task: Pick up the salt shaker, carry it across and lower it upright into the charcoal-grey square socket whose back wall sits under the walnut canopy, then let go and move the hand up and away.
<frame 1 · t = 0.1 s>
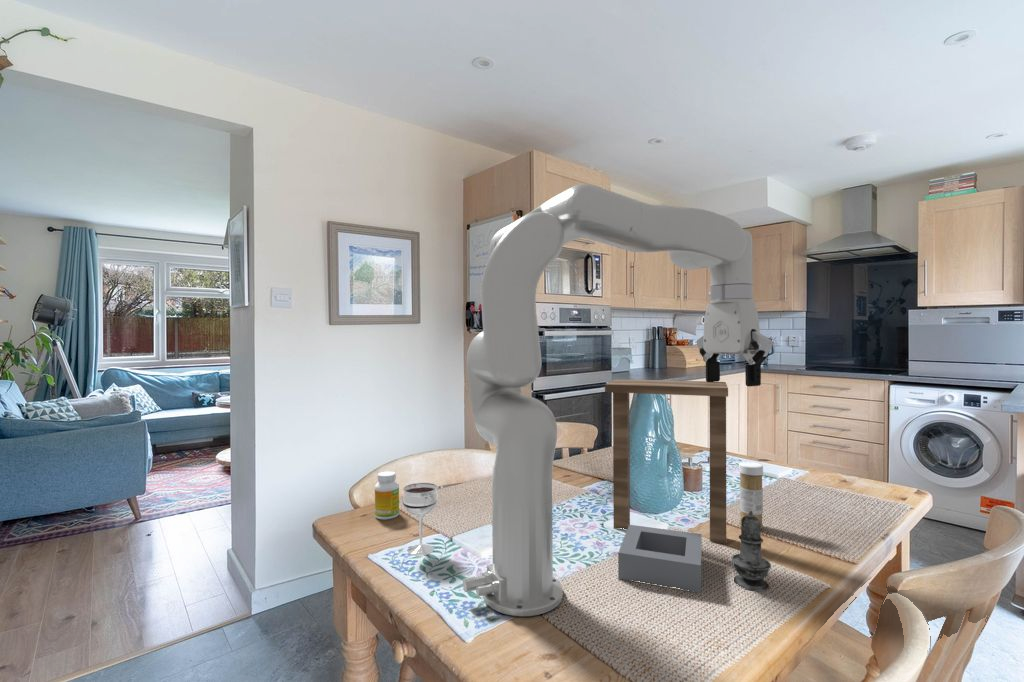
hand: (732, 383, 95), 32 cm above the table, tool pointing down, fingers open, 9 cm apart
sprinkles bottle: (751, 527, 104), on the table
supplement bottle: (387, 516, 112), on the table
wineglass: (421, 550, 94), on the table
salt shaker: (750, 584, 81), on the table
canopy: (666, 462, 97), on the table
socket block: (661, 568, 86), on the table
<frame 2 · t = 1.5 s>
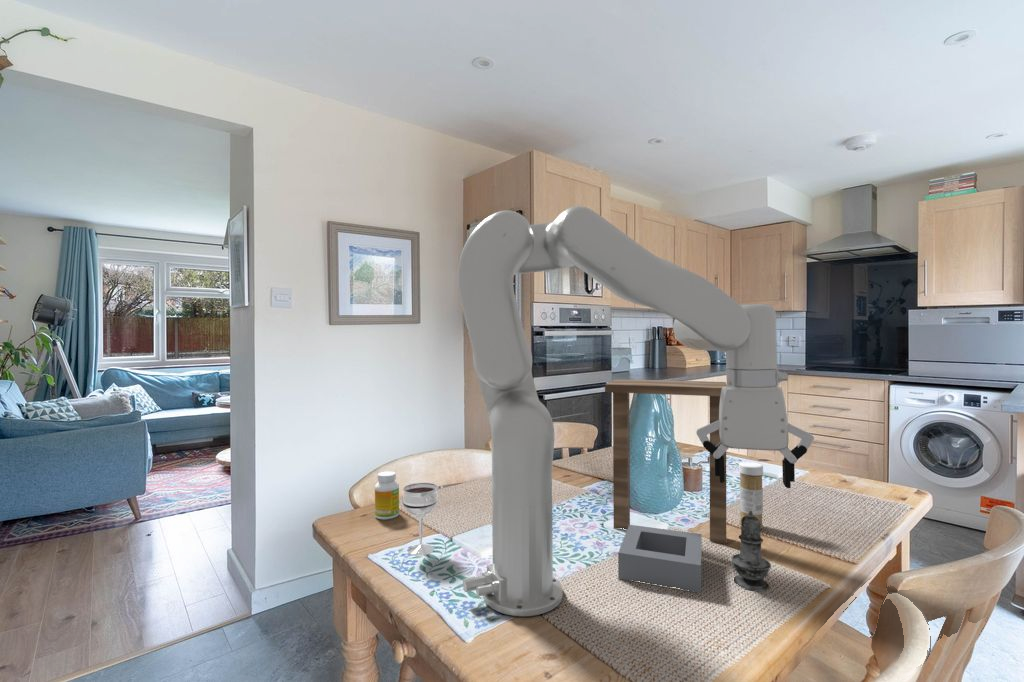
hand: (753, 483, 81), 17 cm above the table, tool pointing down, fingers open, 9 cm apart
nothing on the table moved.
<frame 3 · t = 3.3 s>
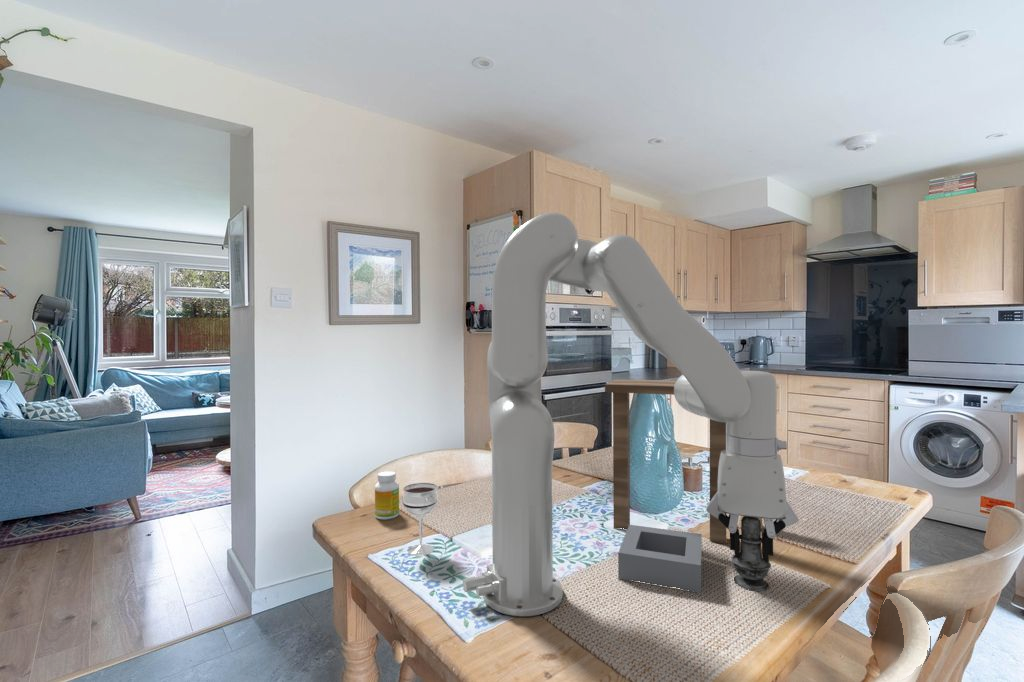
hand: (750, 555, 81), 5 cm above the table, tool pointing down, fingers closed on salt shaker, 3 cm apart
salt shaker: (750, 583, 81), on the table, touching gripper
everything else where it was.
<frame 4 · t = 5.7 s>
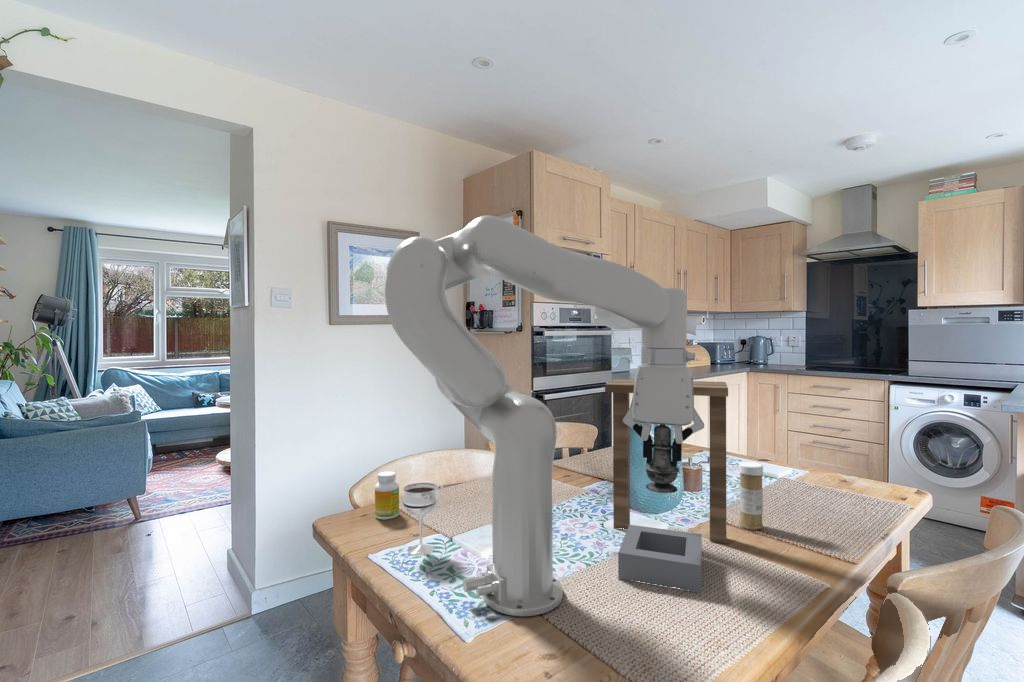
hand: (661, 462, 86), 19 cm above the table, tool pointing down, fingers closed on salt shaker, 3 cm apart
salt shaker: (661, 489, 86), point 14 cm above the table, touching gripper
everything else where it was.
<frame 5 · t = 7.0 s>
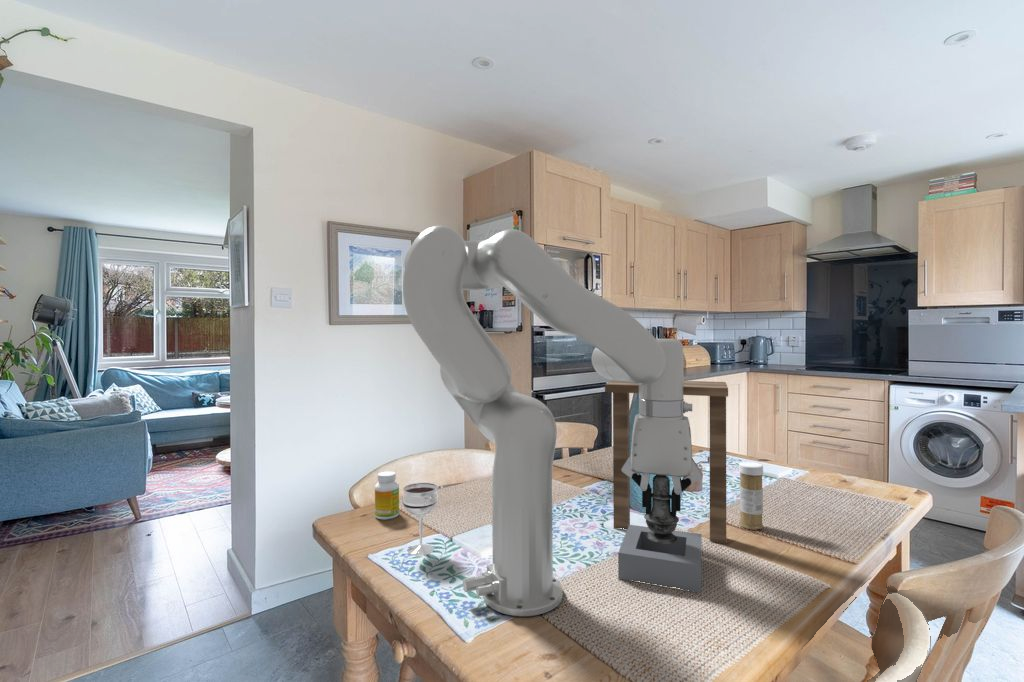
hand: (661, 512, 86), 10 cm above the table, tool pointing down, fingers closed on salt shaker, 3 cm apart
salt shaker: (661, 538, 86), point 5 cm above the table, touching gripper
everything else where it was.
when the fingers open (6 cm above the table, at t = 8.1 s): salt shaker drops 1 cm, resting in socket block.
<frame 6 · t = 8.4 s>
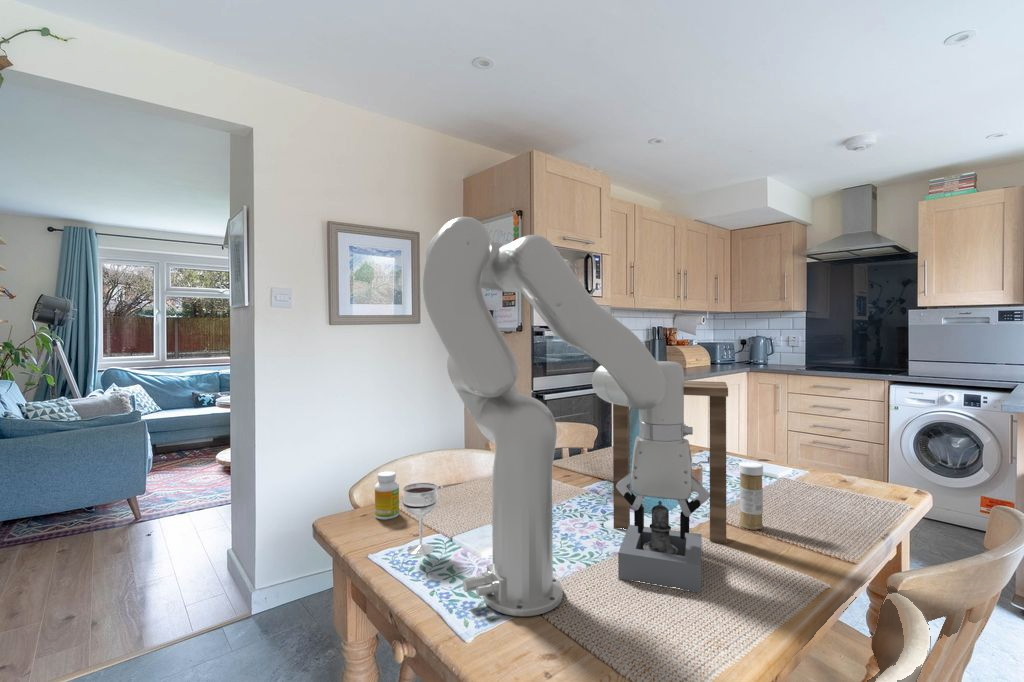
hand: (661, 532, 86), 6 cm above the table, tool pointing down, fingers open, 6 cm apart
salt shaker: (660, 569, 86), resting in socket block
everything else where it was.
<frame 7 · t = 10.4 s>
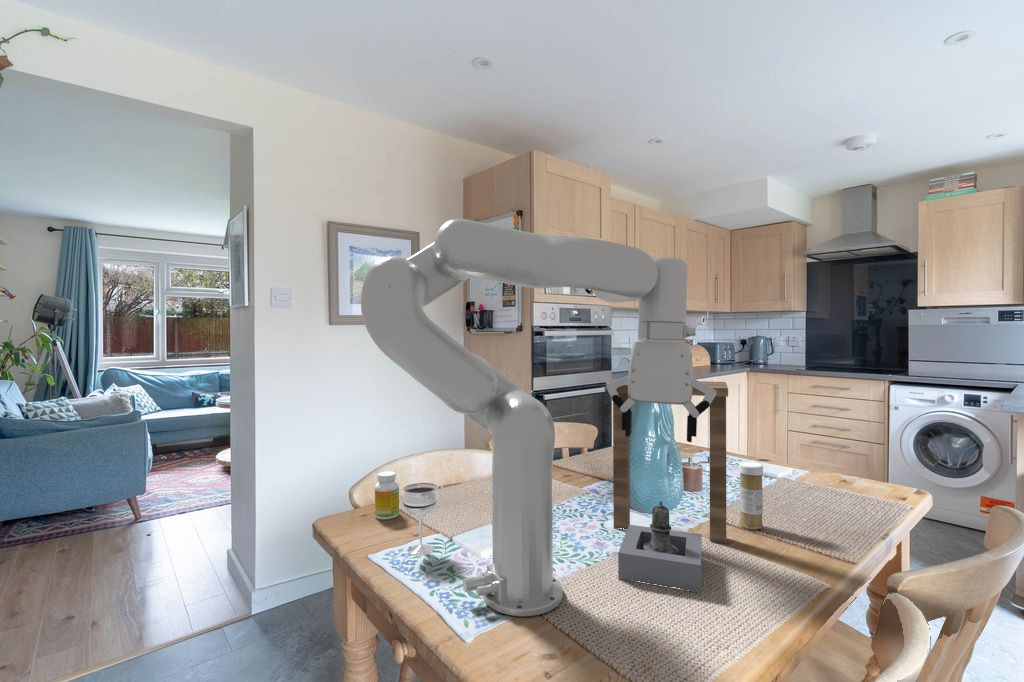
hand: (658, 437, 81), 24 cm above the table, tool pointing down, fingers open, 9 cm apart
nothing on the table moved.
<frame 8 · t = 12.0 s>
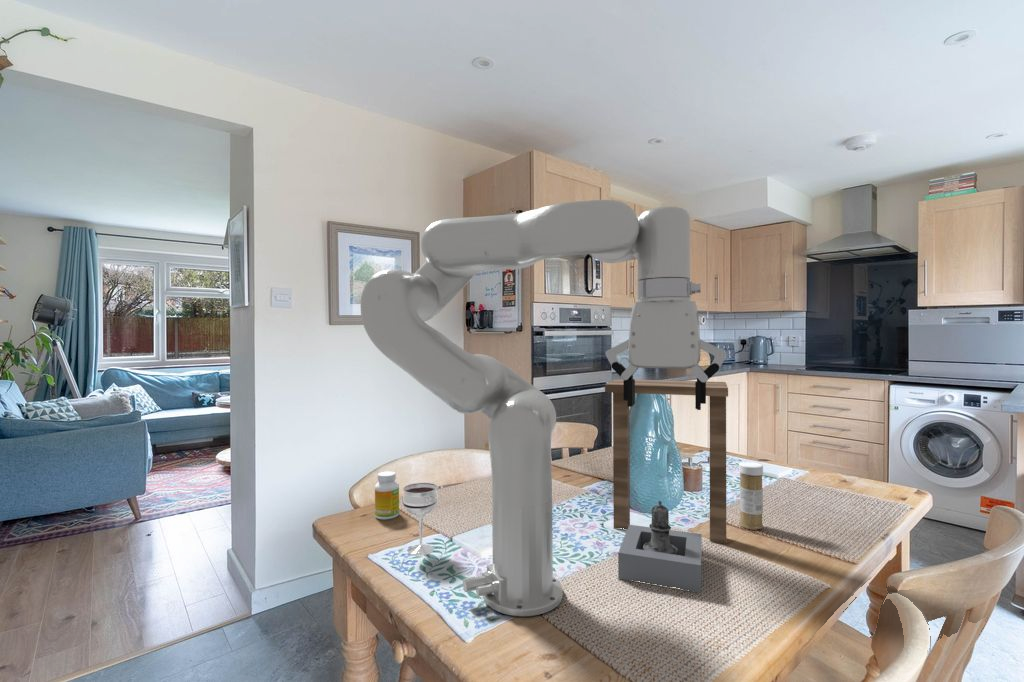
hand: (663, 407, 73), 30 cm above the table, tool pointing down, fingers open, 9 cm apart
nothing on the table moved.
at the end: salt shaker 0.2 cm off-centre on the socket block, point 0.0 cm above the socket block's base; salt shaker tilted 0°; the gripper is holding nothing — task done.
